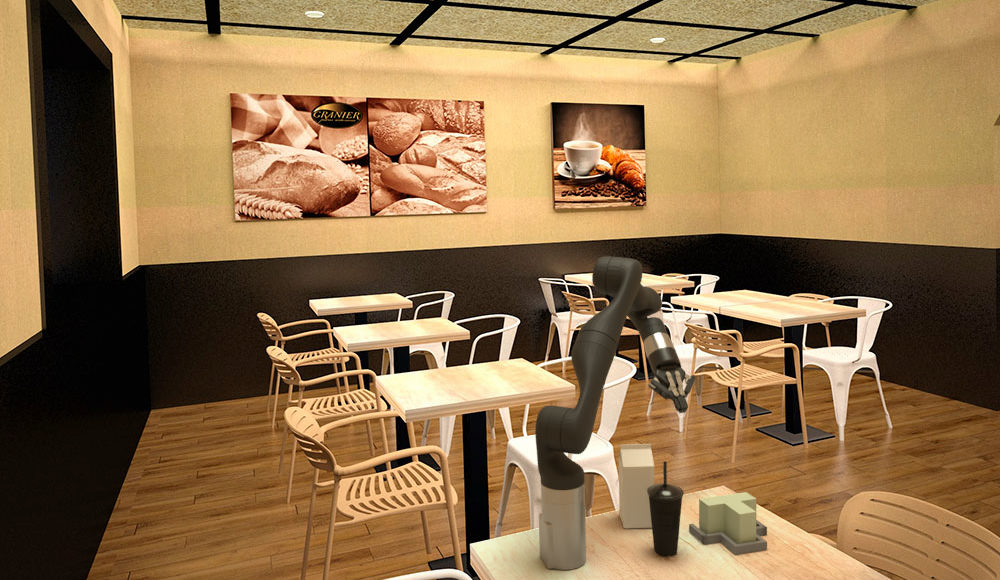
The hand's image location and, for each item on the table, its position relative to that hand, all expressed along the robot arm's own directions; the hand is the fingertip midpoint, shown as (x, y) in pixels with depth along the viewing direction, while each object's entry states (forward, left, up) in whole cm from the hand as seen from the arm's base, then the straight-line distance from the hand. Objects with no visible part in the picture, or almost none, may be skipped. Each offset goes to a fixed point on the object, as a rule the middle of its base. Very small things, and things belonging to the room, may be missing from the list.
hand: (683, 411), depth 178 cm
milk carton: (-17, -9, -23) cm, 30 cm away
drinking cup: (-17, -24, -23) cm, 37 cm away
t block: (0, -23, -23) cm, 33 cm away
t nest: (0, -23, -23) cm, 32 cm away
